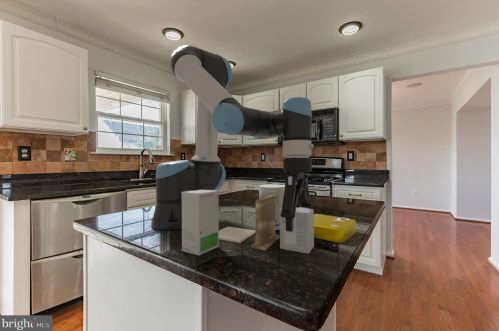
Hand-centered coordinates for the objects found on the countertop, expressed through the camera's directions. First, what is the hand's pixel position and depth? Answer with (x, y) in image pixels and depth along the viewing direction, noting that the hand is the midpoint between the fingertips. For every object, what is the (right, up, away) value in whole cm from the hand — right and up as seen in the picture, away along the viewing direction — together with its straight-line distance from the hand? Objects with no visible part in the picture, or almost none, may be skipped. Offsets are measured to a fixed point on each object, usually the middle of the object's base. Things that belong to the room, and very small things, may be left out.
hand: (297, 236), depth 65 cm
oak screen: (-8, -3, +4) cm, 10 cm away
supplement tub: (-5, -3, +20) cm, 21 cm away
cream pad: (-18, -3, +11) cm, 22 cm away
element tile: (+12, -4, +14) cm, 19 cm away
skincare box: (-26, -4, 0) cm, 26 cm away
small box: (0, -4, 0) cm, 4 cm away
